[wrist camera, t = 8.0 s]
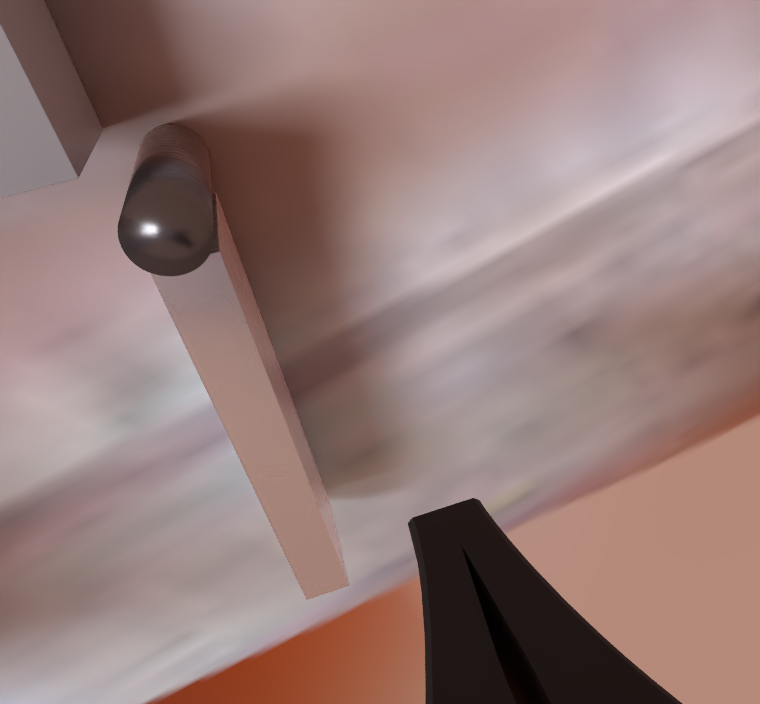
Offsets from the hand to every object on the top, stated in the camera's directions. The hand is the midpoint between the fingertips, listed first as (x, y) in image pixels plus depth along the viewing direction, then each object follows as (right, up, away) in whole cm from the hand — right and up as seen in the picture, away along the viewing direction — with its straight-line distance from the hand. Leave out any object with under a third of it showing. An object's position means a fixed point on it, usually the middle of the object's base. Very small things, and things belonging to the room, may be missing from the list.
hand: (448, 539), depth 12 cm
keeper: (-5, +4, +4) cm, 7 cm away
